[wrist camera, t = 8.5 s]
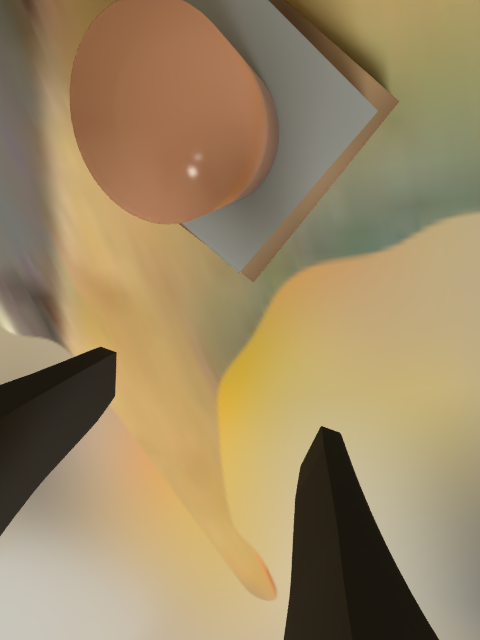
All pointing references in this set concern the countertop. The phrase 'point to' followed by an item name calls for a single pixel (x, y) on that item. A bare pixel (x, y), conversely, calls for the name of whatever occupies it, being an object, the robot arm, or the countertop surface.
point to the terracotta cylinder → (169, 112)
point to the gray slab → (281, 123)
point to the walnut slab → (384, 106)
